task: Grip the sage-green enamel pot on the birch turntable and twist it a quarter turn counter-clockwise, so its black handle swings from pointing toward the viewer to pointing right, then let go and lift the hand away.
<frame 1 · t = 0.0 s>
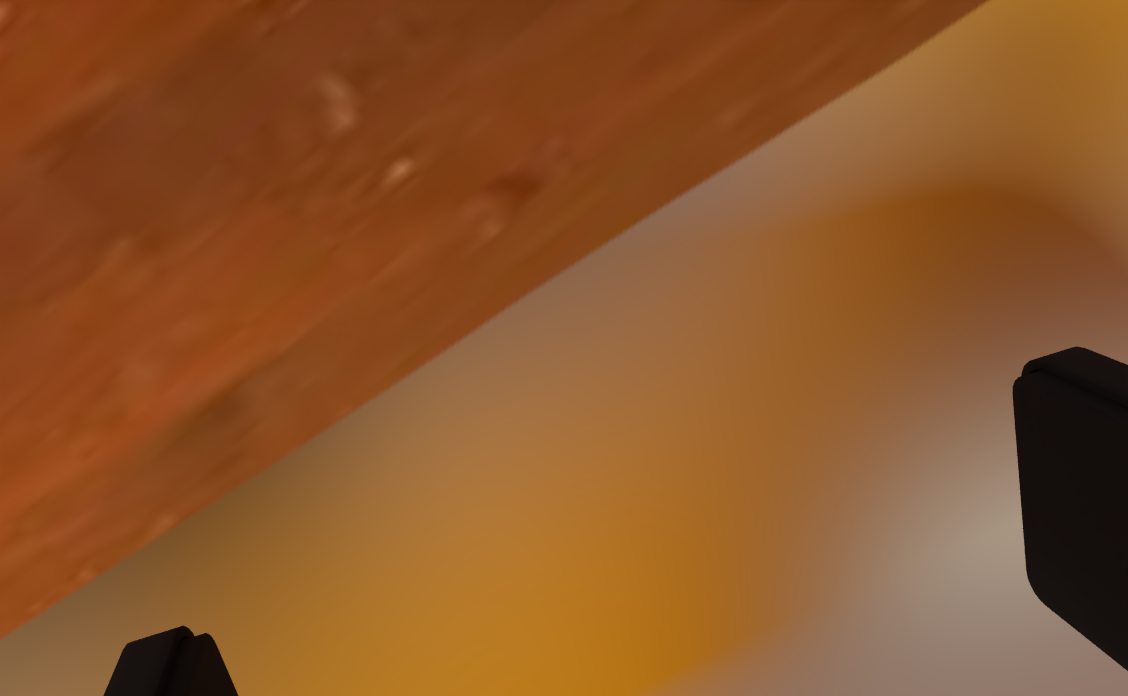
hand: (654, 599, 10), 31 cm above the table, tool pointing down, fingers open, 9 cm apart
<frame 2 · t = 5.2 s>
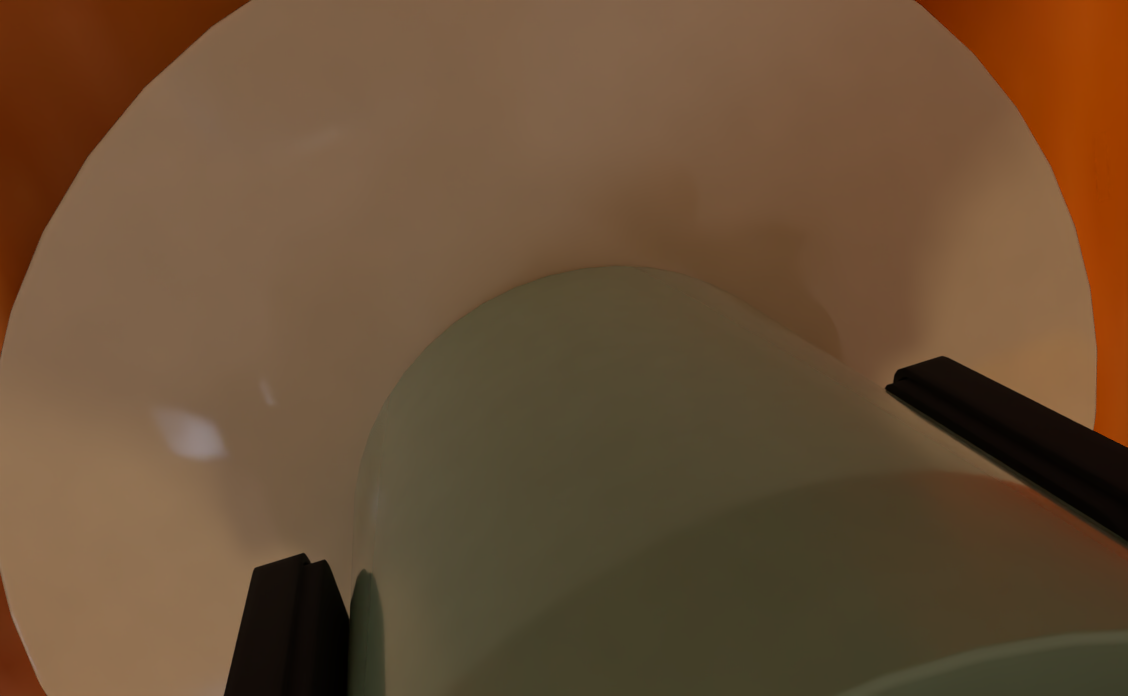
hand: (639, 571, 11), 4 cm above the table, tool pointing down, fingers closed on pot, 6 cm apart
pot: (694, 682, 9), point 6 cm above the table, hinge at 0.0°, touching gripper
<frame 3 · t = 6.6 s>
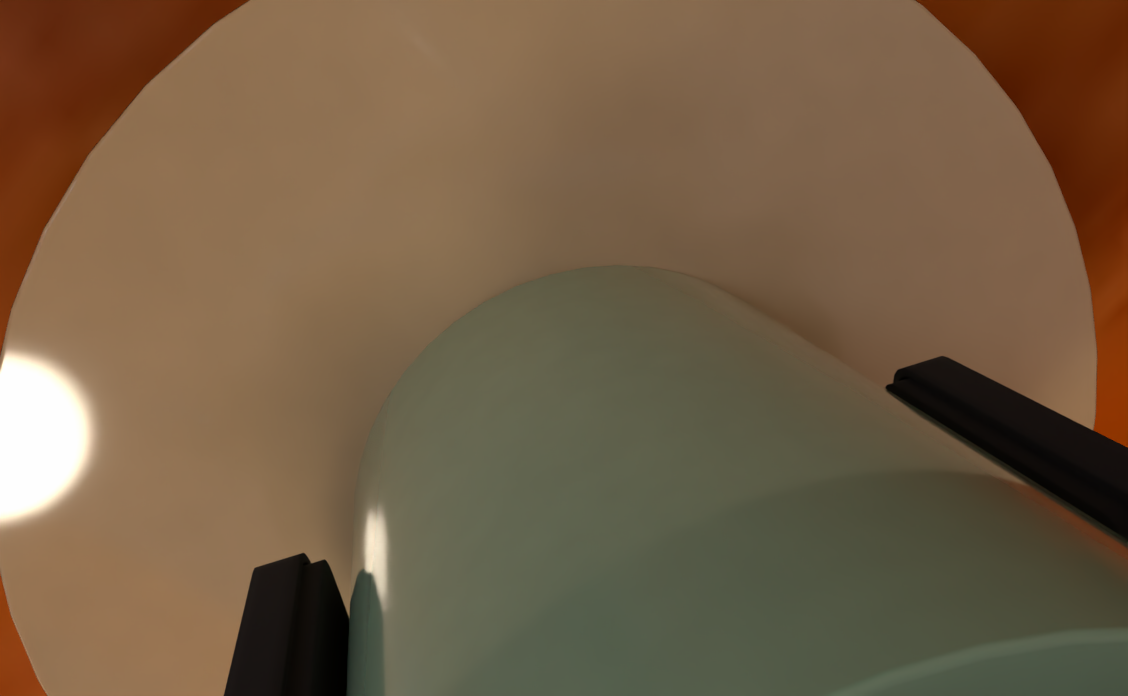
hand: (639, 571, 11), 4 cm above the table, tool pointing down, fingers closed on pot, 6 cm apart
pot: (694, 682, 9), point 6 cm above the table, hinge at 59.8°, touching gripper
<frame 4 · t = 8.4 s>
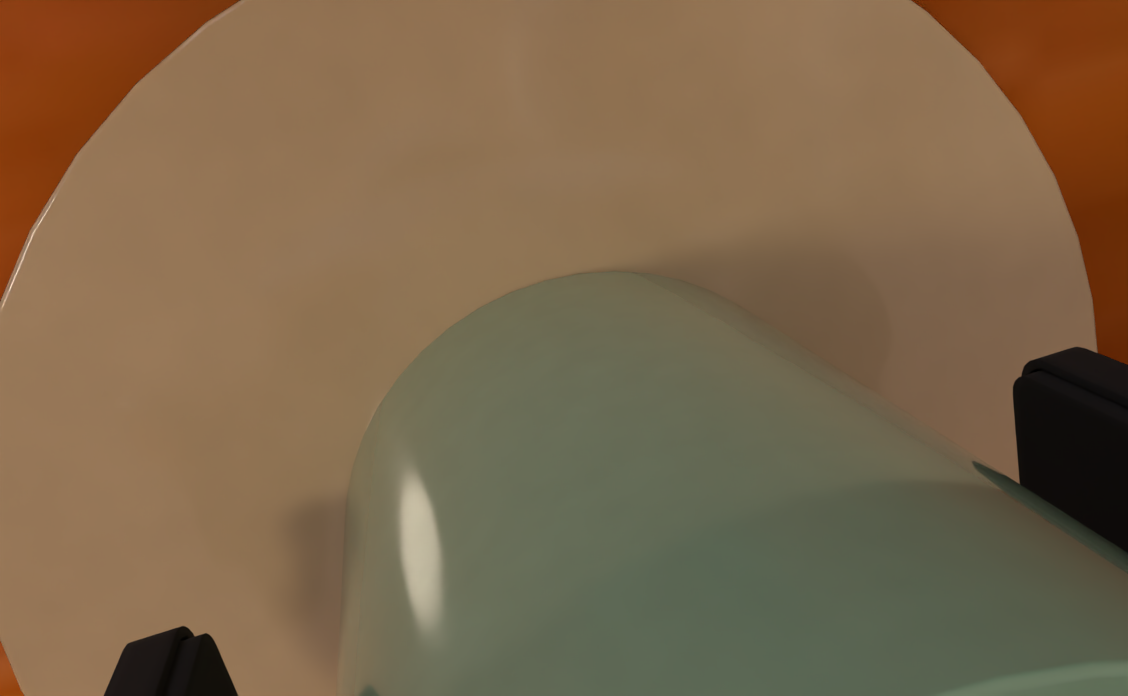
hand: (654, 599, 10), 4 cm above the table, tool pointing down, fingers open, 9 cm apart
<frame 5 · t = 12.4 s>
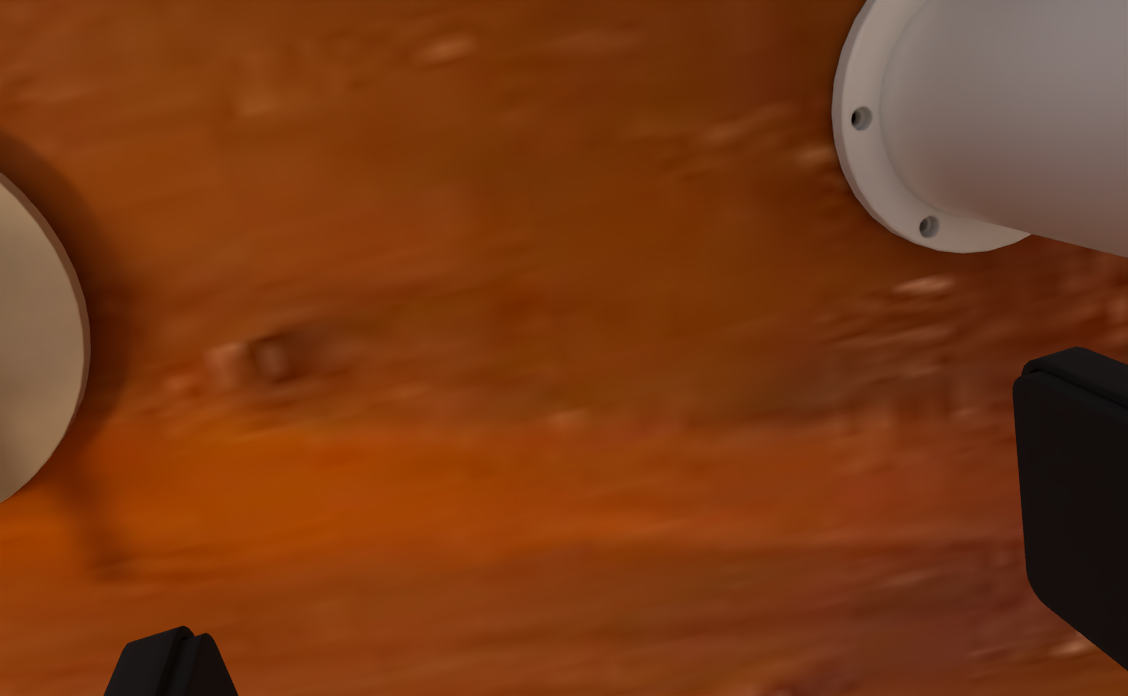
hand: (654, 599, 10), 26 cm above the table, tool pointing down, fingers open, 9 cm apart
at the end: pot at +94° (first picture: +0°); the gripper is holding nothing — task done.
